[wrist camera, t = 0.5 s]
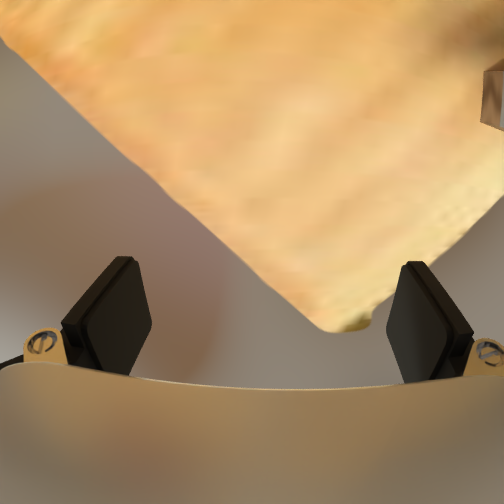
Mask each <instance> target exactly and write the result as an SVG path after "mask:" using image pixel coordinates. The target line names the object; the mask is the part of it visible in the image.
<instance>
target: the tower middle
mask: <svg viewBox="0 0 504 504" xmlns="http://www.w3.org/2000/svg"><path fill="white" fill-rule="evenodd" d="M500 127H502V128H504V71H503V91H502V107H501V119H500Z"/></svg>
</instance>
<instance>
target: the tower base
mask: <svg viewBox="0 0 504 504" xmlns="http://www.w3.org/2000/svg"><path fill="white" fill-rule="evenodd" d="M502 91H503V71H484V79H483V97H482V109H481V119H480V122H481V123H484V124H486V125H489V126H492V127H494V128H496V129H499V130H501V131H504V128H502V127H500V119H501V107H502Z"/></svg>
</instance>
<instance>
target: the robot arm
mask: <svg viewBox="0 0 504 504" xmlns="http://www.w3.org/2000/svg"><path fill="white" fill-rule="evenodd" d="M61 324H62V327H63V329H62V330H61V331H58V330H57V329H54V328H43V329H40V330H38V331H35V332H34V333H33V334H31V335H30V336H29V337H28V338H27V339H26V341H25V343H24V347H23V353H24V354H23V355H20V356H18V357H15V358H13V359H11V360H8V361H5V362H3V363H0V504H504V346H502V345H501V344H500V343H499V342H497V341H495V340H492V339H489V338H482V339H478V340H476V341H474V339H473V338H472V336H473V334H474V331H473V330H472V328H471V327H470V325H469V324H468V322H467V321H466V319H465V318H464V316H463V315H462V313H461V312H460V310H459V309H458V307H457V306H456V305H455V303H454V302H453V300H452V299H451V298H450V296H449V295H448V293H447V292H446V291H445V289H444V288H443V287H442V285H441V284H440V282H439V281H438V280H437V278H436V277H435V276H434V275H433V273H432V272H431V271H430V269H429V268H428V267H427V265H426V264H425V263H424V262H423V261H408V262H407V263H406V265H403V266H402V268H401V272H400V276H399V280H398V284H397V288H396V292H395V296H394V300H393V304H392V308H391V311H390V315H389V319H388V322H387V326H386V333H387V336H388V339H389V341H390V344H391V347H392V350H393V352H394V355H395V358H396V361H397V363H398V366H399V369H400V371H401V374H402V377H403V380H404V384H394V385H383V386H371V387H356V388H334V389H258V388H237V387H221V386H208V385H196V384H187V383H178V382H169V381H161V380H154V379H147V378H140V377H134V376H129V373H130V372H131V369H132V367H133V365H134V363H135V361H136V359H137V357H138V355H139V352H140V350H141V348H142V346H143V344H144V342H145V340H146V338H147V336H148V334H149V332H150V330H151V326H152V320H151V316H150V312H149V308H148V303H147V299H146V295H145V291H144V286H143V282H142V277H141V273H140V267H139V263H138V262H137V261H135V260H134V258H133V257H130V256H129V257H128V256H117V257H116V258H115V259H114V260H113V261H112V262H111V263H110V265H109V266H108V267H107V268H106V269H105V270H104V271H103V272H102V274H101V275H100V276H99V277H98V278H97V279H96V280H95V282H94V283H93V284H92V285H91V286H90V287H89V289H88V290H87V291H86V292H85V293H84V294H83V296H82V297H81V298H80V299H79V301H78V302H77V303H76V304H75V305H74V306H73V308H72V309H71V310H70V312H69V313H68V314H67V315H66V316H65V318H64V319H63V320H62V322H61Z"/></svg>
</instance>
